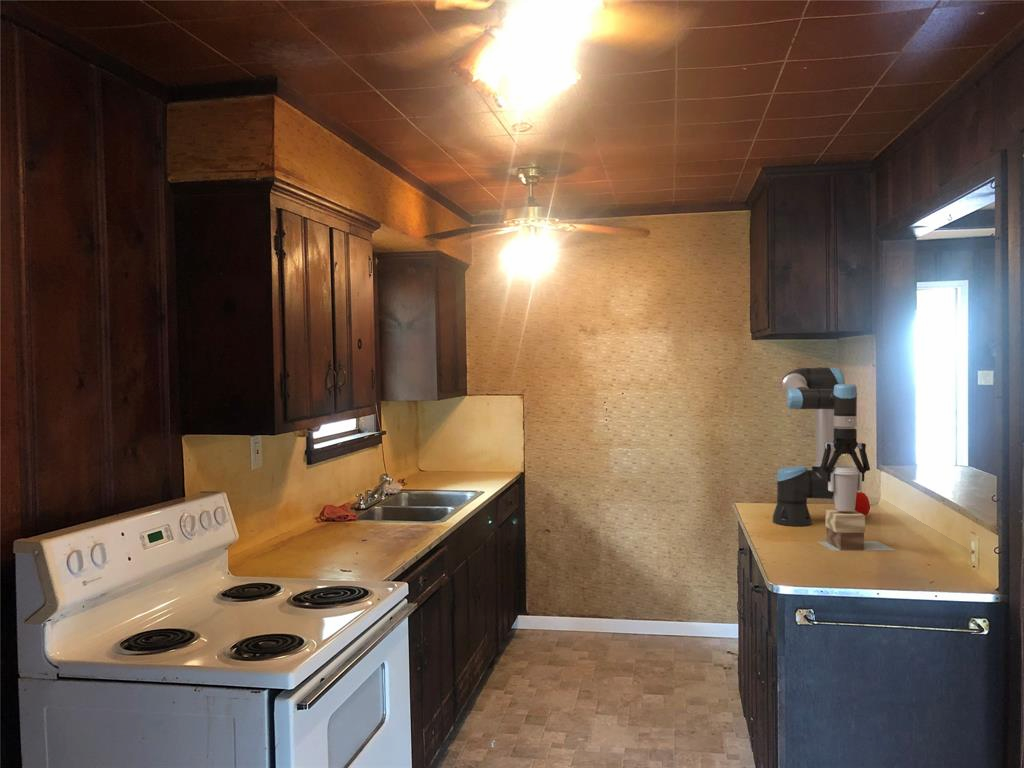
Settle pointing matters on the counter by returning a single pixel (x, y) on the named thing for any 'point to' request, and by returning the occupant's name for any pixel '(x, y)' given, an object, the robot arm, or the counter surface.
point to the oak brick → (845, 521)
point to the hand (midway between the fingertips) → (844, 490)
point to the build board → (867, 546)
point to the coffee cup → (845, 487)
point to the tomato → (861, 503)
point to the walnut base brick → (846, 540)
